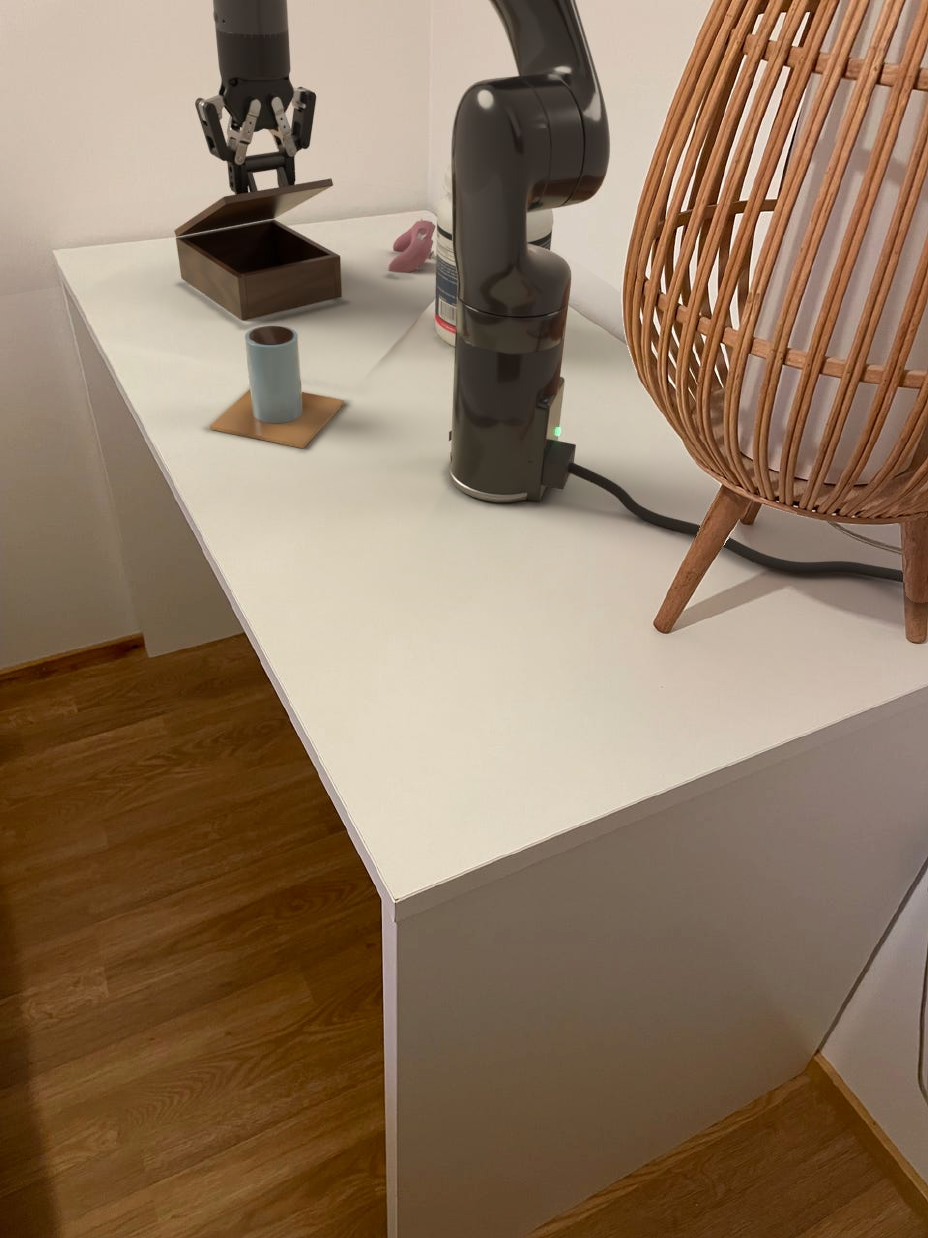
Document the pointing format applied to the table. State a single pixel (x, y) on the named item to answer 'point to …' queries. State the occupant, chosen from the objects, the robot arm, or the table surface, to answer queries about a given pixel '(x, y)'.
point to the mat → (289, 433)
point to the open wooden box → (259, 268)
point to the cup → (274, 373)
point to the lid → (255, 198)
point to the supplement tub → (445, 263)
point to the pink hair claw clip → (413, 247)
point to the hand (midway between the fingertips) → (263, 192)
